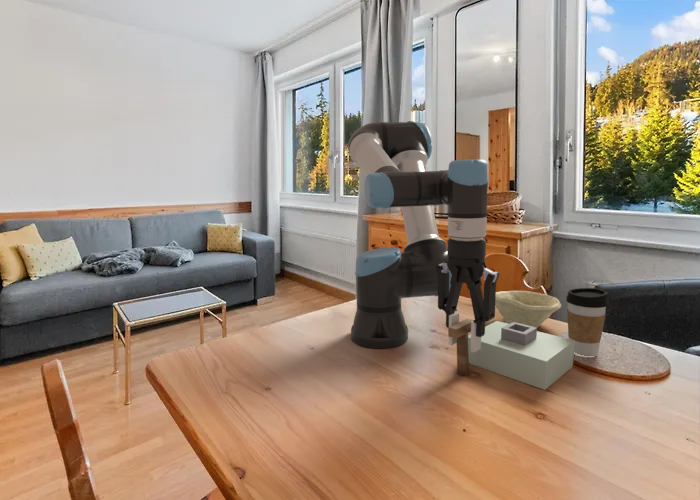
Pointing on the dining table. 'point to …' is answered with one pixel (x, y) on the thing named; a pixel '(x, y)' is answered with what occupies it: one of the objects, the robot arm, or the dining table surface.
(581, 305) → the coffee cup
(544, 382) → the socket box
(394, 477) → the dining table surface
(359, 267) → the robot arm
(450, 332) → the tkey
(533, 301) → the bowl
